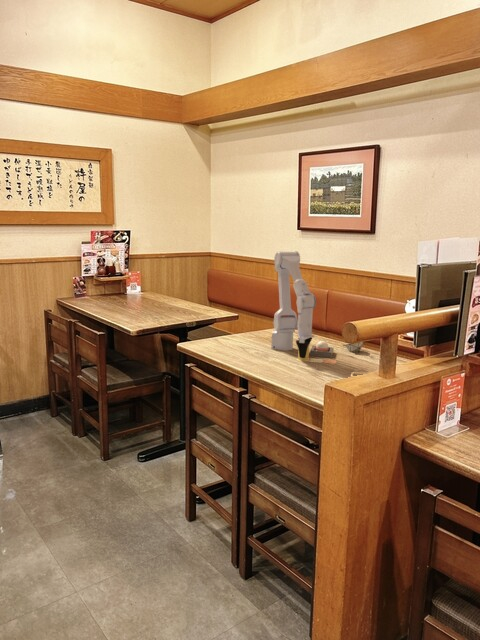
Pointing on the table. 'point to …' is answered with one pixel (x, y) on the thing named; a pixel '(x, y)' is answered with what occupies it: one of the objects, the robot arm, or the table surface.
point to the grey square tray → (321, 352)
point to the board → (321, 361)
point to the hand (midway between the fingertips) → (303, 356)
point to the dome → (322, 346)
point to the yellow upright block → (305, 356)
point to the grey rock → (354, 347)
